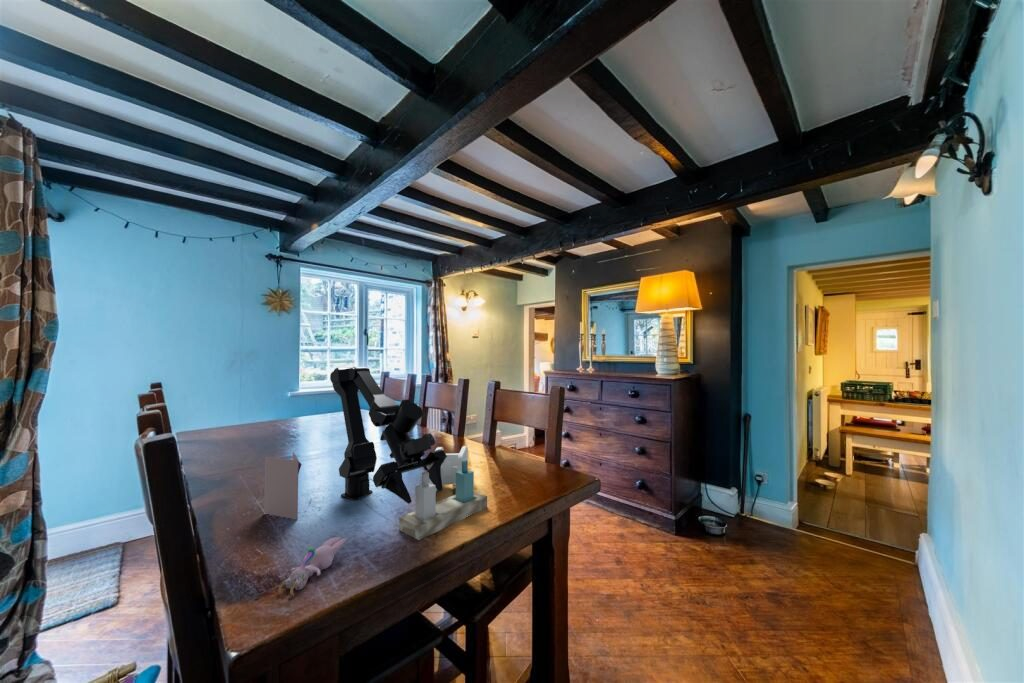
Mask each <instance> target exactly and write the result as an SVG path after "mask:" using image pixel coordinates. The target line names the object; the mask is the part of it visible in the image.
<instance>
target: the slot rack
mask: <svg viewBox="0 0 1024 683" xmlns="http://www.w3.org/2000/svg"><path fill="white" fill-rule="evenodd" d="M487 508H488V496H487V495H484V494H482V493H478V492H475V491H474V500H471V501H469V502H467V503H462V502H459V501H456V494H454V495H451V496H449V497H446V498H444V499H441V500H439V501H436V516H435V517H432V518H430V519H428V520H425V521H421V520H419V519H417V518H415V510H414V511H411V512H409V513H406V514H404V515H401V516H398V530H399V531H400V532H402V533H404V534H406V535H407V536H410V537H411V538H414V539H415V540H418V541H420V540H423V539H425V538H426V537H429V536H431V535H433V534H436V533H437V532H439V531H441V530H443V529H445V528H448V527H450V526H452V525H454V524H456V523H458V522H460V521H462V520H465V519H467V518H468V516H469V517H471V516H473V515H475V514H477V513H479V512H481V511H483V510H485V509H487ZM472 514H473V515H472ZM470 515H471V516H470ZM466 517H467V518H466Z"/></svg>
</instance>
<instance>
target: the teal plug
mask: <svg viewBox="0 0 1024 683" xmlns="http://www.w3.org/2000/svg"><path fill="white" fill-rule="evenodd" d="M468 461H469V459H468V460H462V470H461V471H458V472H456V486H455V495H456V501H459V502H462V503H467V502H469V501H471V500H474V492H475V490H474V485H475V483H474V482H475V481H474V479H475V478H474V477H475V476H474V475H475V474H474V471H472V470H468V469H469V468H468V467H469V466H468Z"/></svg>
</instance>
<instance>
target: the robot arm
mask: <svg viewBox="0 0 1024 683" xmlns="http://www.w3.org/2000/svg"><path fill="white" fill-rule="evenodd" d="M329 377H330V382H331V384H332V388H333V391H334V392H335V393H336V394H337V395H338V396H339V397H340V399H341V406H342V411H343V418H344V425H345V431H346V436H347V442H348V444H347V446H346V448H345V451H344V454H343V455H344V456H343V457H344V460H343V461H342V463H341V464H340V466H339V468H338V474H339V477H341V478H343V479H345V480H344V484H345V485H344V493H341V494H340V497H341V498H346V499H349V500H351V499H352V500H355V501H357V500H359V499H361V498H364V497H365V496H368V495H370V494H372V493H373V490H371V489H370V476H369V475H370V473H374V472H375V467H376V463H377V459H378V458H377V453H376V450H375V443H374V442H373V441H369V440H368V439H367V436H366V432H365V426H364V422H363V415H362V412H361V411H362V410H361V404H360V399H359V392H360V393H361V395H362V397H363V398H364V400H365V402H366V403H367V405H368V407H369V409H368V416H369V418H370V422H371V423H372V425H373V426H374V427H376V428H378V427H379V428H380V427H385V426H386V427H385V428H384V429H382V431H381V432H382V433H381V435H380V441H386V444H387V446H388V447H389V450H390V454H389V458H390V459H394V460H395V461H391V462H387V463H382V464H380V466H379V468H378V469H377V470H376V472H375V473H374V474H373V476H372V481H373V484H374V486H375V488H380V487H381V490H382V489H386V490H388V491H389V492H391V493H393V494H394V495H396V496H397V497H399V498H400V499H401V500H403V501H404V502H405V503H407V504H408V505H409V504H411V503H412V498H411V496H410V495H411V494H410V493H409V490H408V489H407V486H406V485H405V483H404V480H403V473H406V472H407V473H408V472H410V471H411V472H412V471H415V470H417V469H420V468H423V470H425V472H429V479H430V480H431V482H432V483H433V484H434V485H436V489H437V491H438V492H439V493H441V492H443V490H444V486H442V480H441V465H442V463H443V462H444V460H445V459H446V457H447V456H446V454H447V453H446V452H445V451H444V449H443V450H441V449H440V450H436V451H435V450H432V446H434V445H435V444H436V440H435V436H434V435H433V434H432V433H431V432H429V433H425V434H424V435H422V436H421V437H418V438H411V436H410V434H409V433H411V432H412V431H413V430H414V428H415V427H416V426H417V424H418V423H419V421H420V420H421V418H422V417H423V415H424V411H423V409H422V406H419V405H418V404H417V403H414V402H412V401H411V400H410V398H409V399H402V400H401V402H400V404H398V403H397V402H396V401H395V400H394V398H393V399H392V398H391V397H390V396H386V395H385V393H384V392H383V391H382V389H381V387H380V386H379V384H378V383H377V381H376V380H375V379H374V377H373V376H372V374H371V371H370V368H369V367H366V366H353V367H336V368H334V370H333V371H331V373H330V376H329ZM428 450H432V451H429V453H428V454H427V455H426V456H425V454H426V451H428ZM424 456H425V458H422V457H424Z"/></svg>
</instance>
